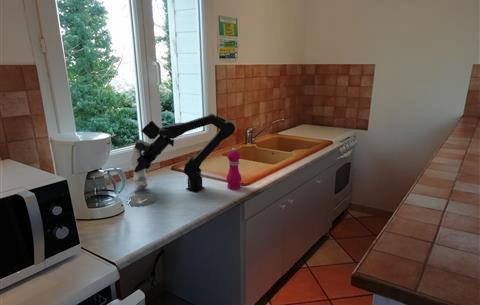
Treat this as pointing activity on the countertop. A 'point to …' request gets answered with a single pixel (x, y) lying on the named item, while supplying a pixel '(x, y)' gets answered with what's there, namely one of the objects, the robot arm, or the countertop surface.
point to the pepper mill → (233, 170)
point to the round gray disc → (142, 200)
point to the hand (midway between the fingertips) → (136, 169)
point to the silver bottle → (140, 176)
